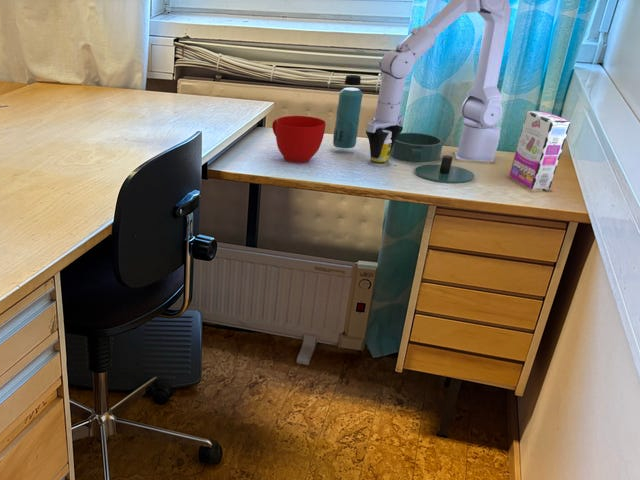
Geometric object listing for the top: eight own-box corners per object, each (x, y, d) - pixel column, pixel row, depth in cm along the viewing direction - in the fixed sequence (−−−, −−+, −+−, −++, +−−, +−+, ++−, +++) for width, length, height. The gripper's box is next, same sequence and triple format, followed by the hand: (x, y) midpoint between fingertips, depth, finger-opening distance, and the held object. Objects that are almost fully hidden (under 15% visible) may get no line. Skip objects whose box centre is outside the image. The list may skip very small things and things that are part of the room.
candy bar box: (551, 191, 169) (572, 121, 160) (531, 191, 169) (551, 121, 160) (526, 176, 178) (545, 109, 170) (507, 177, 178) (525, 110, 169)
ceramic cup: (288, 147, 201) (292, 110, 196) (331, 161, 189) (336, 123, 184) (253, 153, 195) (256, 116, 190) (295, 169, 183) (299, 129, 178)
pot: (437, 150, 199) (441, 132, 196) (440, 169, 184) (445, 150, 181) (388, 146, 202) (391, 128, 199) (387, 164, 187) (391, 145, 184)
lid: (470, 171, 182) (475, 151, 180) (475, 188, 171) (480, 167, 168) (413, 166, 186) (417, 147, 183) (414, 182, 174) (418, 162, 171)
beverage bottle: (358, 149, 199) (369, 74, 188) (350, 155, 194) (361, 78, 184) (336, 146, 202) (346, 72, 191) (327, 151, 197) (337, 76, 187)
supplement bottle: (388, 166, 185) (394, 134, 181) (369, 165, 186) (375, 133, 182) (387, 161, 189) (392, 129, 185) (369, 160, 190) (374, 128, 186)
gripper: (390, 95, 186) (381, 147, 193) (360, 103, 177) (351, 157, 185) (414, 99, 182) (404, 152, 189) (384, 108, 173) (375, 163, 180)
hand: (380, 155), depth 186 cm, fingers closed on supplement bottle, 5 cm apart
